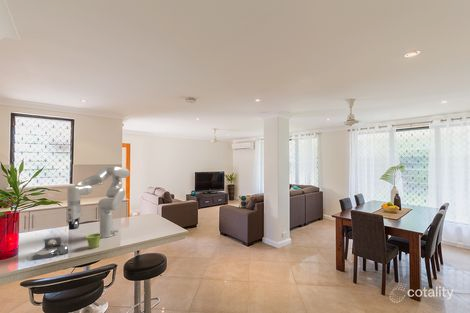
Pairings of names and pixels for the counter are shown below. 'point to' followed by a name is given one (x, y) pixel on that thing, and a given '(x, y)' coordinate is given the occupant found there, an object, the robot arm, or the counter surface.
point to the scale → (49, 248)
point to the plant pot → (93, 240)
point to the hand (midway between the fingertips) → (74, 227)
